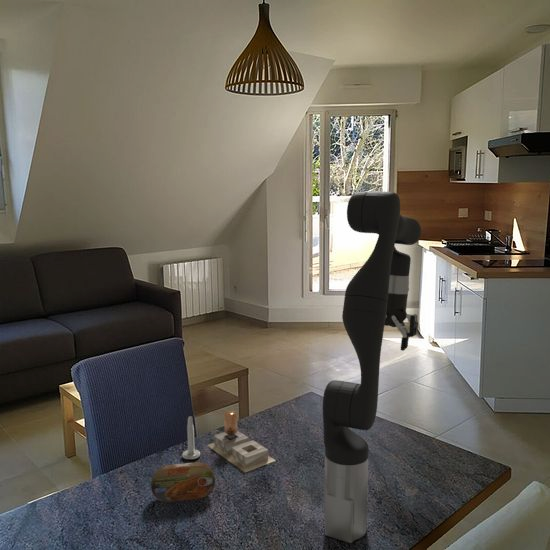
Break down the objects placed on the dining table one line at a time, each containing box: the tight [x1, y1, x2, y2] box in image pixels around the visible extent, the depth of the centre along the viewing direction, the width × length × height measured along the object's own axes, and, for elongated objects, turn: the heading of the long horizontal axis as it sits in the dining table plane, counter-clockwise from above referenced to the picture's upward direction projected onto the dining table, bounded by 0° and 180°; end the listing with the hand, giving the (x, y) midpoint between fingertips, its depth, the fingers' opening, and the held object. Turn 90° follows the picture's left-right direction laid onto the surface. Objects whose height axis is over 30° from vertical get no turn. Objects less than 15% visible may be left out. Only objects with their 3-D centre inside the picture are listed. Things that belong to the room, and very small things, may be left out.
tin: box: [150, 461, 216, 503], centre depth 134 cm, size 15×3×8 cm, turn 99°
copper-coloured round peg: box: [223, 410, 239, 440], centre depth 157 cm, size 4×4×10 cm
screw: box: [181, 415, 201, 461], centre depth 151 cm, size 13×5×5 cm
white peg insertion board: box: [206, 430, 277, 473], centre depth 154 cm, size 19×10×4 cm, turn 38°
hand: (388, 346), depth 157 cm, fingers open, 8 cm apart
